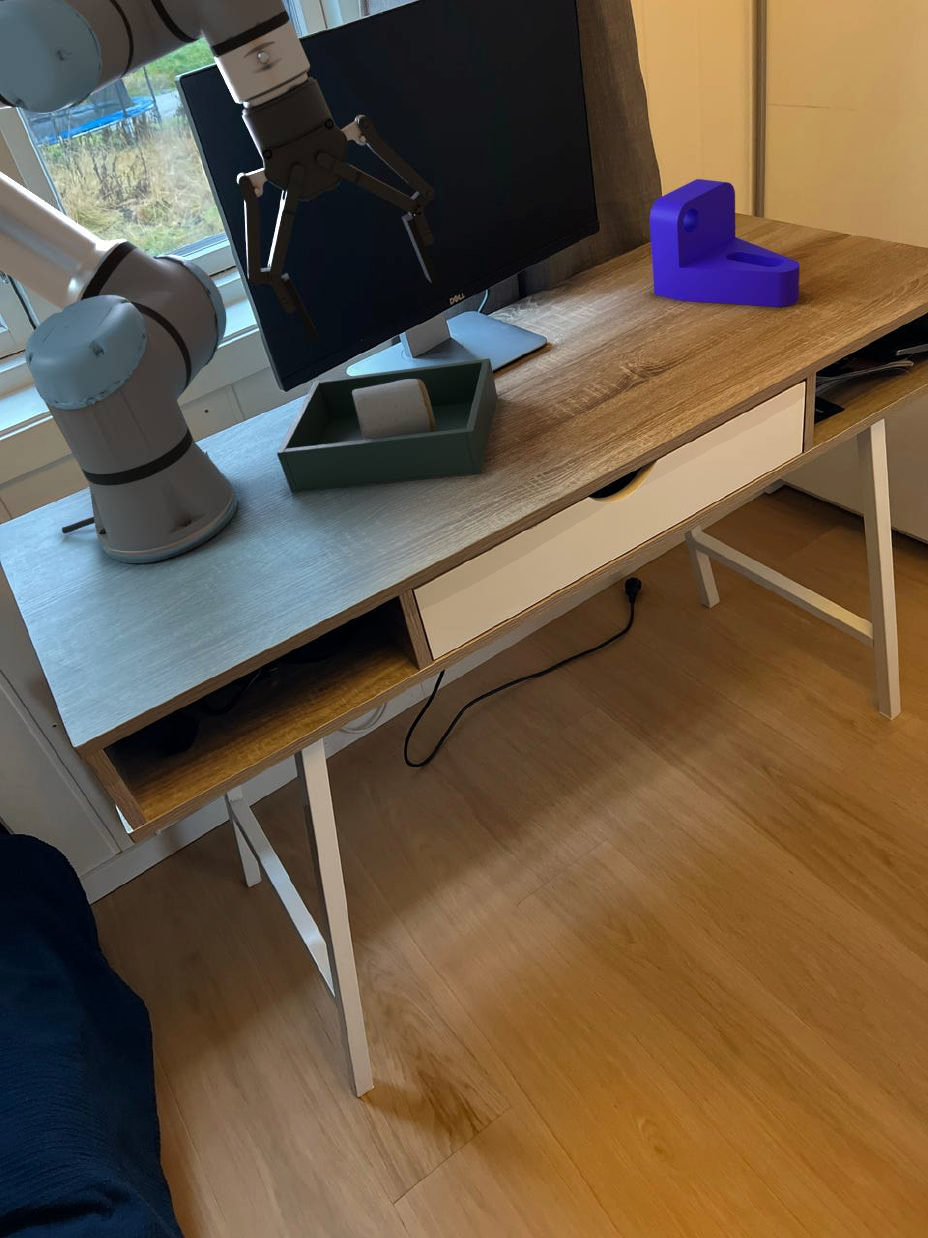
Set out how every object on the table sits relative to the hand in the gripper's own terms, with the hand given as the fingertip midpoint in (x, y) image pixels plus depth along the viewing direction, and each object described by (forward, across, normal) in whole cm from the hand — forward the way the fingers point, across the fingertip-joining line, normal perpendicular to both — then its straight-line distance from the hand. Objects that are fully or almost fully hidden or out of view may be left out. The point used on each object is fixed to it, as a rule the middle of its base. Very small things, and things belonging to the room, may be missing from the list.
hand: (373, 308), depth 96 cm
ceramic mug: (+15, -4, +1) cm, 16 cm away
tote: (+15, -4, +1) cm, 16 cm away
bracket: (+22, +44, +13) cm, 51 cm away
